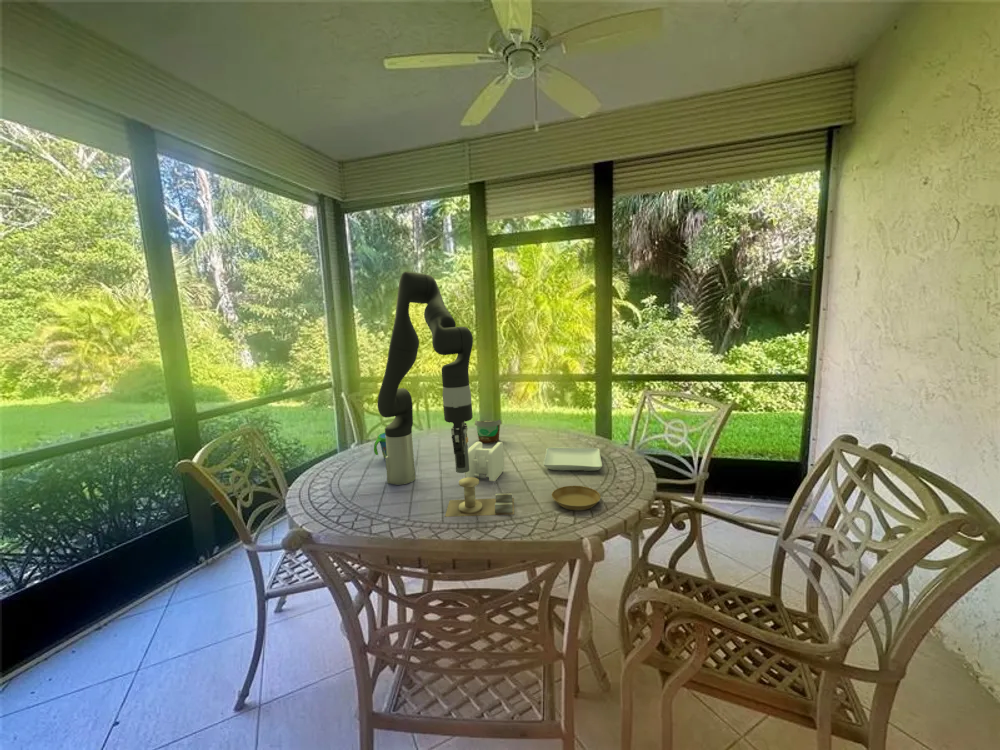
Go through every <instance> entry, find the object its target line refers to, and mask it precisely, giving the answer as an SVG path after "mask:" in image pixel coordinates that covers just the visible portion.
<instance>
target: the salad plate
mask: <svg viewBox="0 0 1000 750" xmlns="http://www.w3.org/2000/svg"><path fill="white" fill-rule="evenodd" d="M542 465H543V467H545V468H547V469H548V470H552V471H553V470H554V471H564V470H584V471H583V472H593V471H595V472H596V471H598V470H600V469H601V468H603V462H602V458H601V450H600V448H598V447H596V448H595V447H567V446H566V447H565V446H564V447H559V446H558V447H553V446H552V447H547V448H546V449H545V456H544V459H543V463H542Z"/></svg>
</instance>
